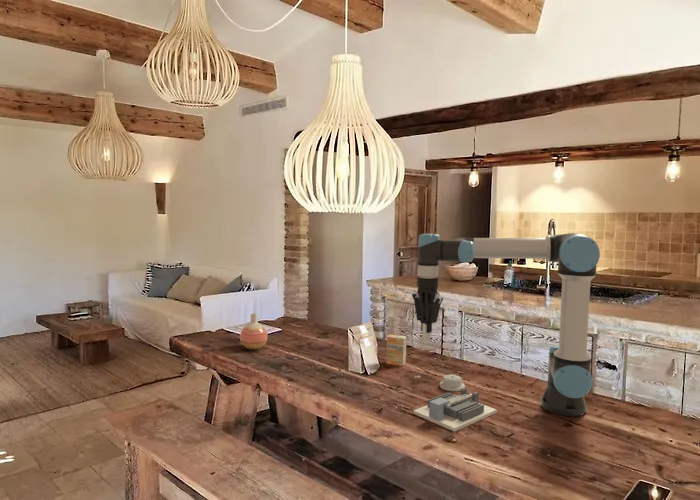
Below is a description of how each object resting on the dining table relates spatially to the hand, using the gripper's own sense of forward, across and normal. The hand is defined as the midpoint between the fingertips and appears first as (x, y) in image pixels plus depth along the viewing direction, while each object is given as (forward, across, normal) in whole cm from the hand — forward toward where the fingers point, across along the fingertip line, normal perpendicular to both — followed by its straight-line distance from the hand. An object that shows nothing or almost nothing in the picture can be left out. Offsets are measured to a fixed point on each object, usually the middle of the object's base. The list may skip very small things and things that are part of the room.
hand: (426, 340), depth 184 cm
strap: (+20, -12, -3) cm, 24 cm away
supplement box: (+24, +40, -26) cm, 54 cm away
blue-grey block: (+23, -12, +6) cm, 26 cm away
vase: (+24, +102, +12) cm, 106 cm away
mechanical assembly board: (+24, -12, -3) cm, 27 cm away
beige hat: (+25, +5, -23) cm, 34 cm away
